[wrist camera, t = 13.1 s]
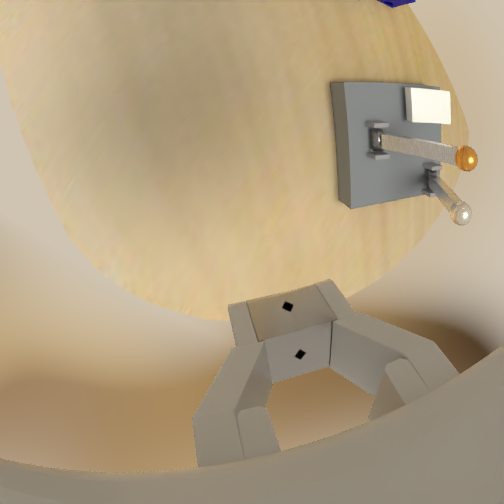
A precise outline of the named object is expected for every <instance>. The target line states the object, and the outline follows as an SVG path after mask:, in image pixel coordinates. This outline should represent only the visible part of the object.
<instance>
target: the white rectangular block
mask: <svg viewBox="0 0 504 504" xmlns="http://www.w3.org/2000/svg"><path fill="white" fill-rule="evenodd" d="M405 96H406V116H407V121H410V122H419V123H440V124H451V111H450V92H449V91H442V90H433V89H423V88H411V87H405Z"/></svg>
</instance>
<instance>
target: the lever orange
mask: <svg viewBox="0 0 504 504" xmlns="http://www.w3.org/2000/svg"><path fill="white" fill-rule="evenodd" d="M384 149H385V150H391V151H396V152H401V153H406V154H410V155H415V156H419V157H424V158H428V159H432V160H437V161H441V162H445V163H448V164H452V165H456V166H458V167H459V168H460V169H461V170H463V171H471V170H473V169H474V168H475V167H476V165H477V161H478V158H477V154H476V152H475V151H474V150H473V149H472V148H471V147H469V146H461V147H456V146H452V145H448V144H443V143H439V142H434V141H429V140H424V139H419V138H413V137H408V136H402V135H396V134H389V133H384V134H383V129H380V128H372V150H373V151H376V152H382V151H384Z"/></svg>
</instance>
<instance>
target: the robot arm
mask: <svg viewBox="0 0 504 504" xmlns="http://www.w3.org/2000/svg"><path fill="white" fill-rule="evenodd" d="M228 312H229V316H230V321H231V325H232V330H233V334H234V339H235V343H236V348H232V349H231V350H230V352H229V353H228V355H227V357H226V359H225V361H224V363H223V364H222V366H221V368H220V370H219V372H218V373H217V375H216V377H215V379H214V381H213V382H212V384H211V386H210V388H209V390H208V391H207V393H206V395H205V397H204V398H203V400H202V402H201V404H200V406H199V407H198V409H197V411H196V413H195V414H194V416H193V418H192V419H193V428H194V438H195V447H196V455H197V463H198V467H197V468H189V469H179V470H170V471H169V470H168V471H153V472H90V471H77V470H65V469H56V468H49V467H42V466H35V465H30V464H24V463H19V462H14V461H9V460H5V459H1V458H0V504H504V344H503V345H502V346H500V347H499V348H498V349H497V350H495V351H494V352H492V353H491V354H489V355H488V356H487V357H485V358H484V359H482V360H481V361H479V362H478V363H476V364H475V365H473V366H472V367H471V368H469V369H468V370H466V371H464V372H463V373H461V374H459V373H458V372H457V370H456V369H455V368H454V366H453V365H452V364H451V363H450V361H449V360H448V359H447V358H446V356H445V355H444V354H443V353H442V351H441V350H440V349H439V347H438V346H437V345H436V344H435V343H434V342H433V341H431V340H428V339H426V338H424V337H421V336H418V335H416V334H414V333H411V332H409V331H406V330H404V329H401V328H399V327H396V326H394V325H391V324H388V323H386V322H384V321H381V320H379V319H376V318H374V317H372V316H369V315H367V314H364V313H362V312H360V313H357V314H356V312H355V311H354V309H353V308H352V307H351V305H350V304H349V303H348V301H347V300H346V298H345V297H344V296H343V294H342V293H341V292H340V290H339V289H338V287H337V286H336V285H335V283H334V282H333V281H332V280H330V279H328V280H325V281H322V282H318V283H315V284H313V285H309V286H306V287H302V288H298V289H294V290H291V291H287V292H283V293H278V294H274V295H270V296H265V297H261V298H256V299H252V300H247V301H246V302H245V301H244V302H239V303H234V304H230V305H228ZM329 366H330V368H331V369H333V370H334V371H336V372H337V373H339V374H340V375H342V376H343V377H345V378H346V379H348V380H349V381H351V382H352V383H354V384H355V385H357V386H359V387H360V388H362V389H363V390H365V391H366V392H368V393H369V394H371V395H373V396H374V397H375V400H374V403H373V406H372V408H371V411H370V414H369V416H368V418H369V420H370V421H369V422H366V423H364V424H361V425H359V426H356V427H354V428H351V429H349V430H346V431H343V432H341V433H338V434H335V435H333V436H330V437H327V438H324V439H321V440H317V441H315V442H312V443H308V444H305V445H301V446H298V447H295V448H291V449H288V450H284V451H280V448H279V444H278V441H277V438H276V435H275V431H274V428H273V425H272V422H271V419H270V415H269V412H268V410H267V409H266V408H265V407H266V403H267V401H268V397H269V395H270V391H271V388H272V385H273V384H272V383H275V382H278V381H281V380H285V379H288V378H292V377H295V376H298V375H301V374H305V373H308V372H312V371H315V370H319V369H322V368H325V367H329Z"/></svg>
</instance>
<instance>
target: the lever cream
mask: <svg viewBox="0 0 504 504" xmlns="http://www.w3.org/2000/svg"><path fill="white" fill-rule="evenodd" d="M427 188H428V189H430V190H432V191H433V192H434V193H435V195H436V196H437V197H438V198H439V200H440V201H441V202H442V204H443V205H444V206H445V207H446V209H447V210H448V211H449V213H450V216H451V219H452V220H453V222H454V223H456V224H458V225H465V224H467V223H468V222H469V221H470V219H471V215H472V212H471V208H470V206H469V205H468V204H467V203H466V202H463V201H462V200H461V199H460V198H459V197H458V196H457V195H456V194H455V193H454V192H453V190H452V189H451V188H450V187H449V186H448V185H447V184H446V183H445V182H444V181H443V180H442V179H441V178H440V177H439V176H438V175H437V170H433V171H432V170H429V169H428V173H427Z"/></svg>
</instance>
